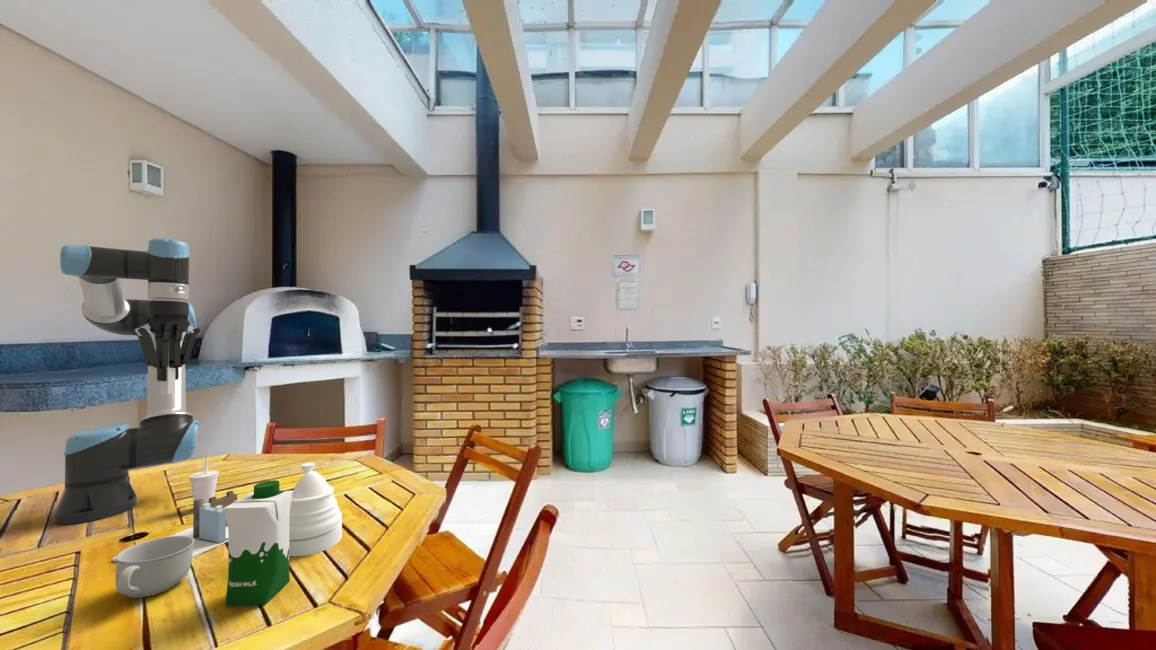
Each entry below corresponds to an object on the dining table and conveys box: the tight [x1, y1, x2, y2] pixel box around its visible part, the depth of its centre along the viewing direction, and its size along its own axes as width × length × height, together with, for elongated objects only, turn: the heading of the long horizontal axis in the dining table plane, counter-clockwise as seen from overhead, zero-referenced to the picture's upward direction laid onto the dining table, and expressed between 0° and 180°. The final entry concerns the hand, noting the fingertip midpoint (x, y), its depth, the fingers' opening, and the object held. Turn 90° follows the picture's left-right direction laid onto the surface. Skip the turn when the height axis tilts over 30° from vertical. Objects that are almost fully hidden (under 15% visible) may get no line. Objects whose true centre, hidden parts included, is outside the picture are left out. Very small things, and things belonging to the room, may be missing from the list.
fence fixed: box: [192, 490, 238, 538], centre depth 104 cm, size 2×9×9 cm, turn 163°
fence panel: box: [199, 503, 226, 543], centre depth 99 cm, size 1×7×8 cm, turn 71°
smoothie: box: [188, 457, 220, 503], centre depth 119 cm, size 6×6×14 cm
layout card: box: [111, 525, 229, 563], centre depth 99 cm, size 16×21×1 cm
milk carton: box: [223, 479, 293, 607], centre depth 79 cm, size 9×9×20 cm
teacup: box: [114, 535, 195, 599], centre depth 80 cm, size 14×11×8 cm
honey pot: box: [289, 462, 343, 558], centre depth 99 cm, size 13×13×18 cm
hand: (167, 393), depth 106 cm, fingers closed
